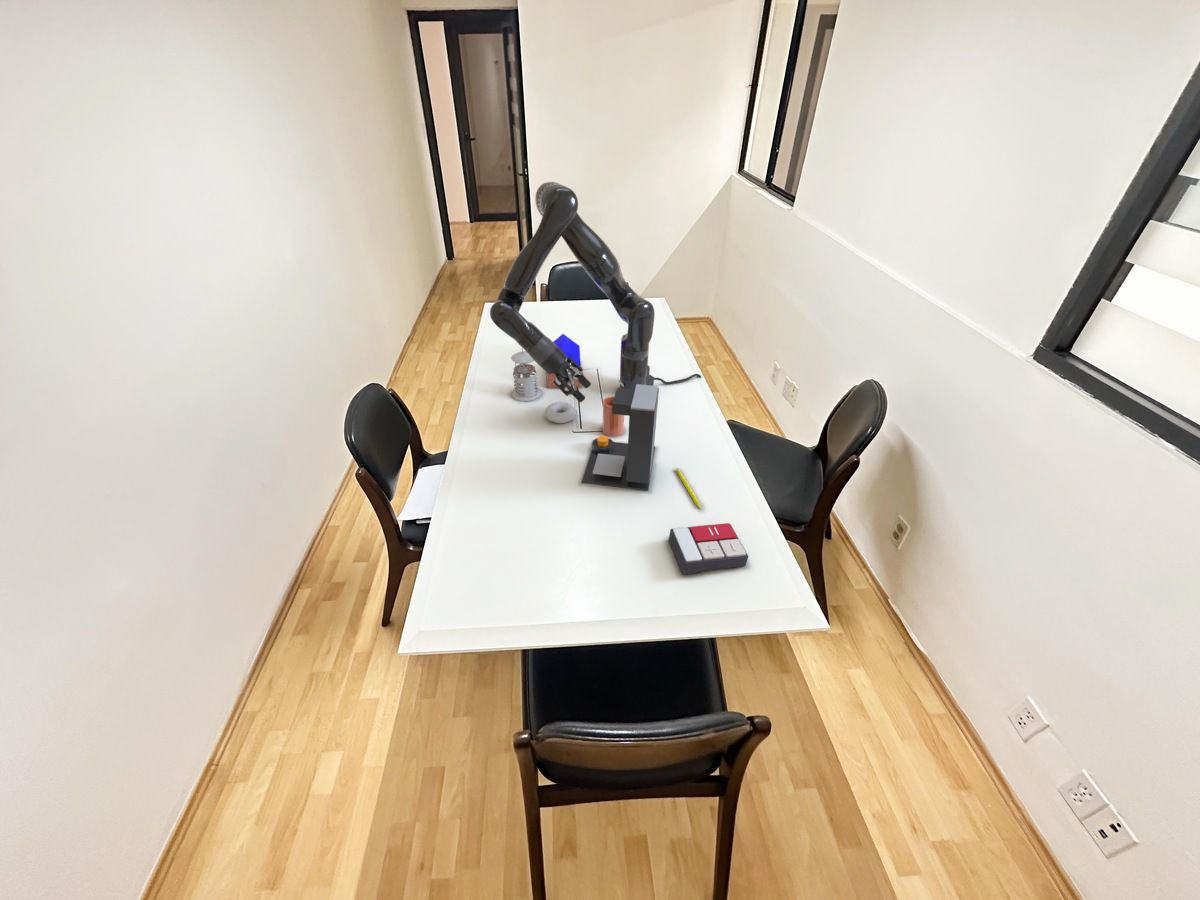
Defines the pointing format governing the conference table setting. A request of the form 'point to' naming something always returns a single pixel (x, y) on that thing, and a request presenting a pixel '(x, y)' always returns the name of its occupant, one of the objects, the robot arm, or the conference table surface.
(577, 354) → the house
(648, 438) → the coffee maker
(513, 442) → the conference table surface
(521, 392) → the french press
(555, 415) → the donut
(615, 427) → the tumbler
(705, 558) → the calculator
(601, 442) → the brew button
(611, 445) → the coffee maker base
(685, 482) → the pencil
